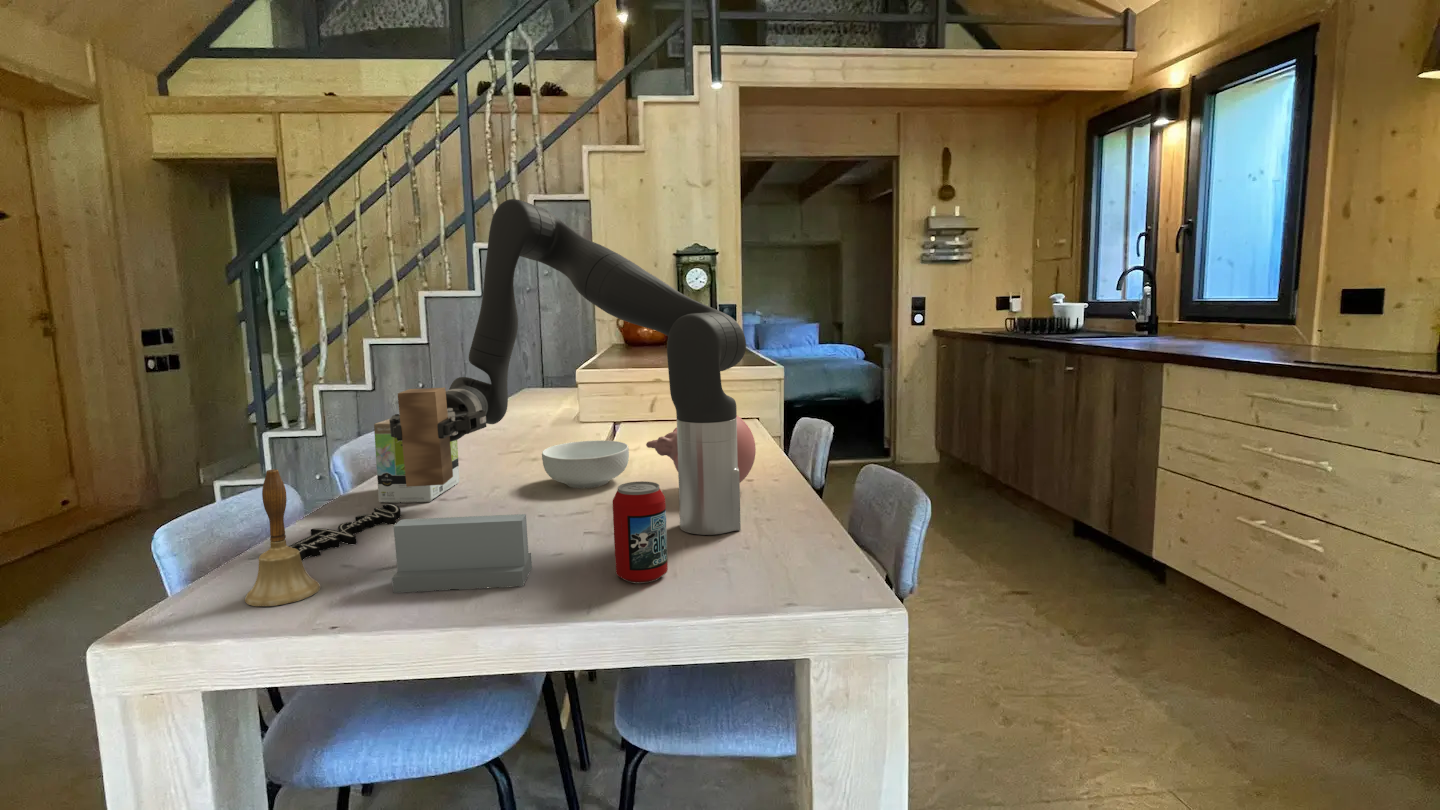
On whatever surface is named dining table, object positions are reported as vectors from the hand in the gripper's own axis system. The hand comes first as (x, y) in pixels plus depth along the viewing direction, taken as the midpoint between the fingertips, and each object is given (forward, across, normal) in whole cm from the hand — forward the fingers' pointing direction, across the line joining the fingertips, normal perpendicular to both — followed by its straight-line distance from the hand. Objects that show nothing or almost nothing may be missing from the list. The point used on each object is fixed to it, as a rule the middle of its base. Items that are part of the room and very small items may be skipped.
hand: (420, 432), depth 106 cm
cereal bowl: (-42, +18, +19) cm, 49 cm away
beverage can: (+10, +30, +19) cm, 37 cm away
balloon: (-32, +40, +19) cm, 54 cm away
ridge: (+8, +7, +18) cm, 21 cm away
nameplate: (-15, -18, +19) cm, 30 cm away
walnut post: (-3, 0, +8) cm, 8 cm away
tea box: (-40, -13, +18) cm, 46 cm away
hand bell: (+10, -15, +18) cm, 26 cm away
